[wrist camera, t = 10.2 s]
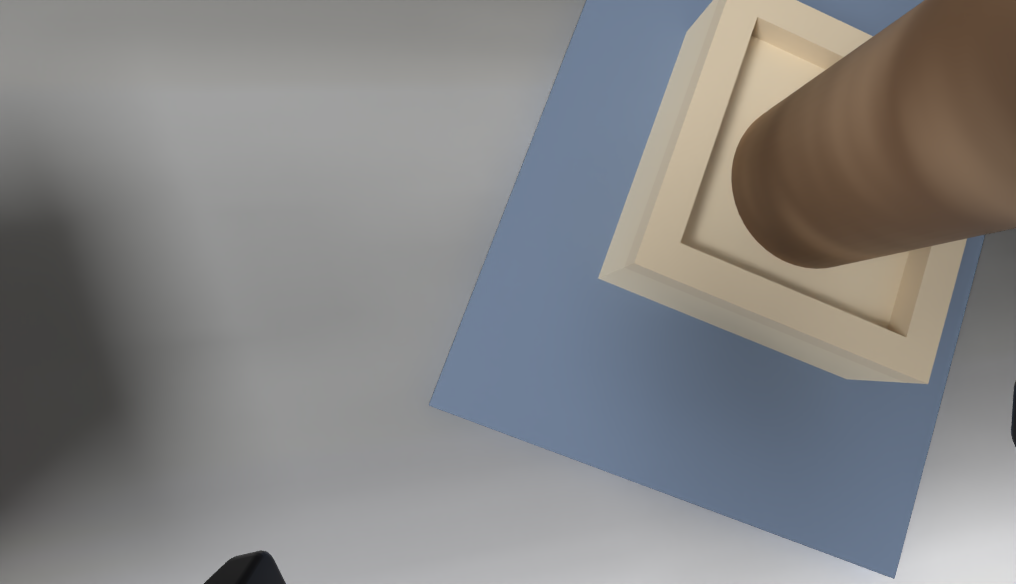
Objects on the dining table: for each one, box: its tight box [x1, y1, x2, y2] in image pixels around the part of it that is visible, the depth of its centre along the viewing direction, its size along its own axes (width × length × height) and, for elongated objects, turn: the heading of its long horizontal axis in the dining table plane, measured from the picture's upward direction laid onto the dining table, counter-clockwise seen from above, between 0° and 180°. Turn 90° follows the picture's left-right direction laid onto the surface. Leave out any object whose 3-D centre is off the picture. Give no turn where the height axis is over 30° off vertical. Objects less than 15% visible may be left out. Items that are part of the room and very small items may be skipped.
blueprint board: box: [429, 0, 985, 578], centre depth 19 cm, size 20×16×4 cm
